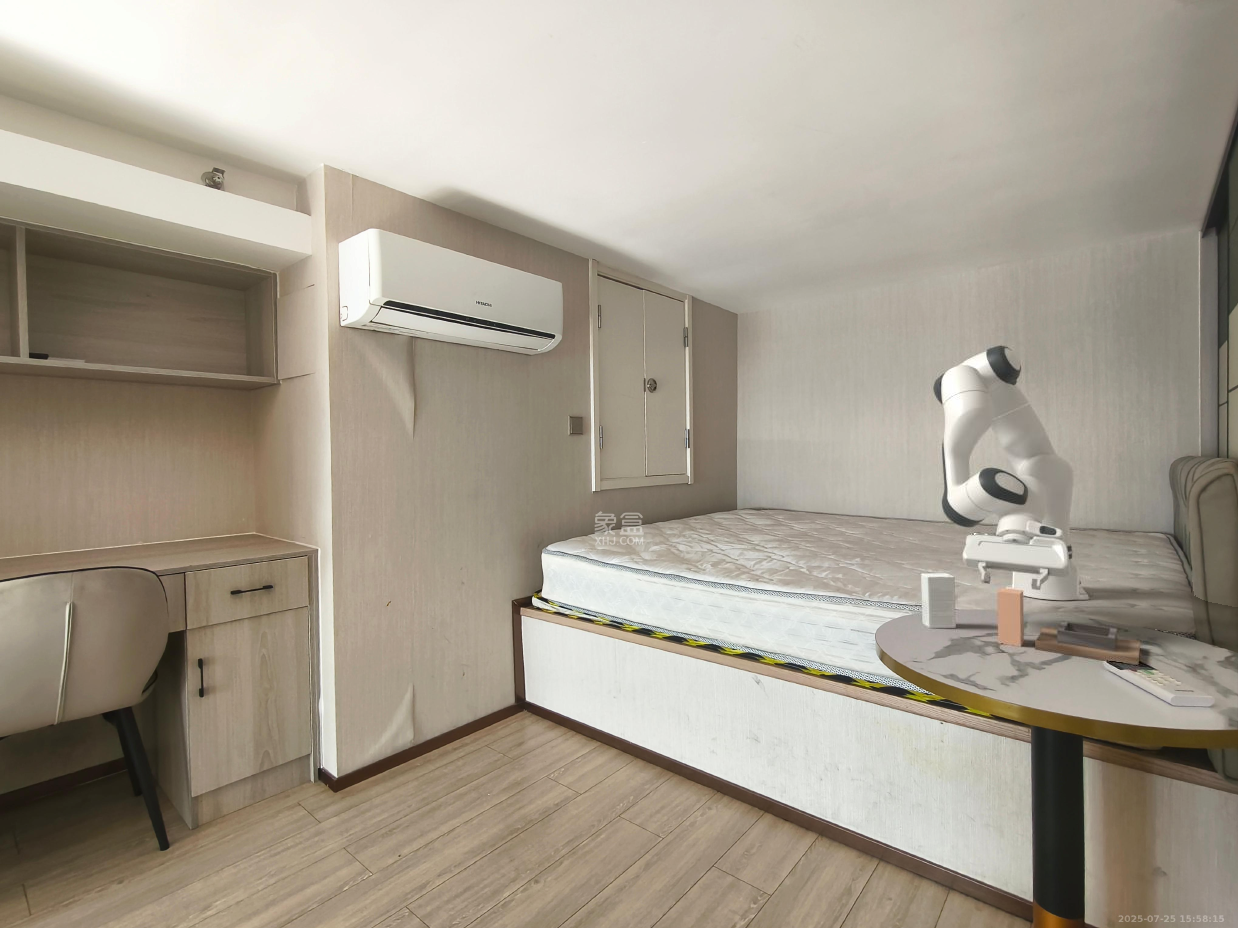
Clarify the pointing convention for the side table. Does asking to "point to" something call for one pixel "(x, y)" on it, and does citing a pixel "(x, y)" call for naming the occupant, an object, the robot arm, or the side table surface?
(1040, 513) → the robot arm
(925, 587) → the skincare box
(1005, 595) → the peg
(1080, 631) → the socket board
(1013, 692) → the side table surface
